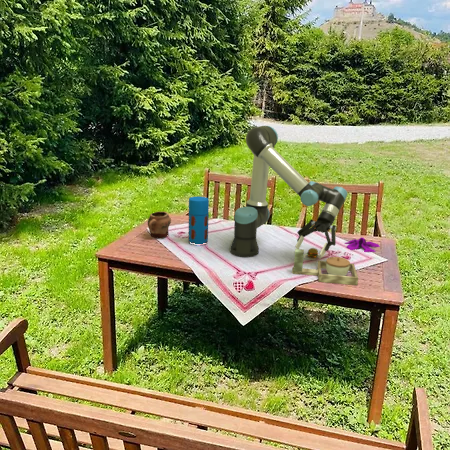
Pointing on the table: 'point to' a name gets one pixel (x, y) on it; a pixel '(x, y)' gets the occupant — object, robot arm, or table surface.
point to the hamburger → (313, 253)
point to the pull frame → (321, 277)
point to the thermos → (198, 219)
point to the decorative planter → (159, 224)
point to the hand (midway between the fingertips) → (308, 252)
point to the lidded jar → (337, 266)
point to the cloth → (361, 245)
